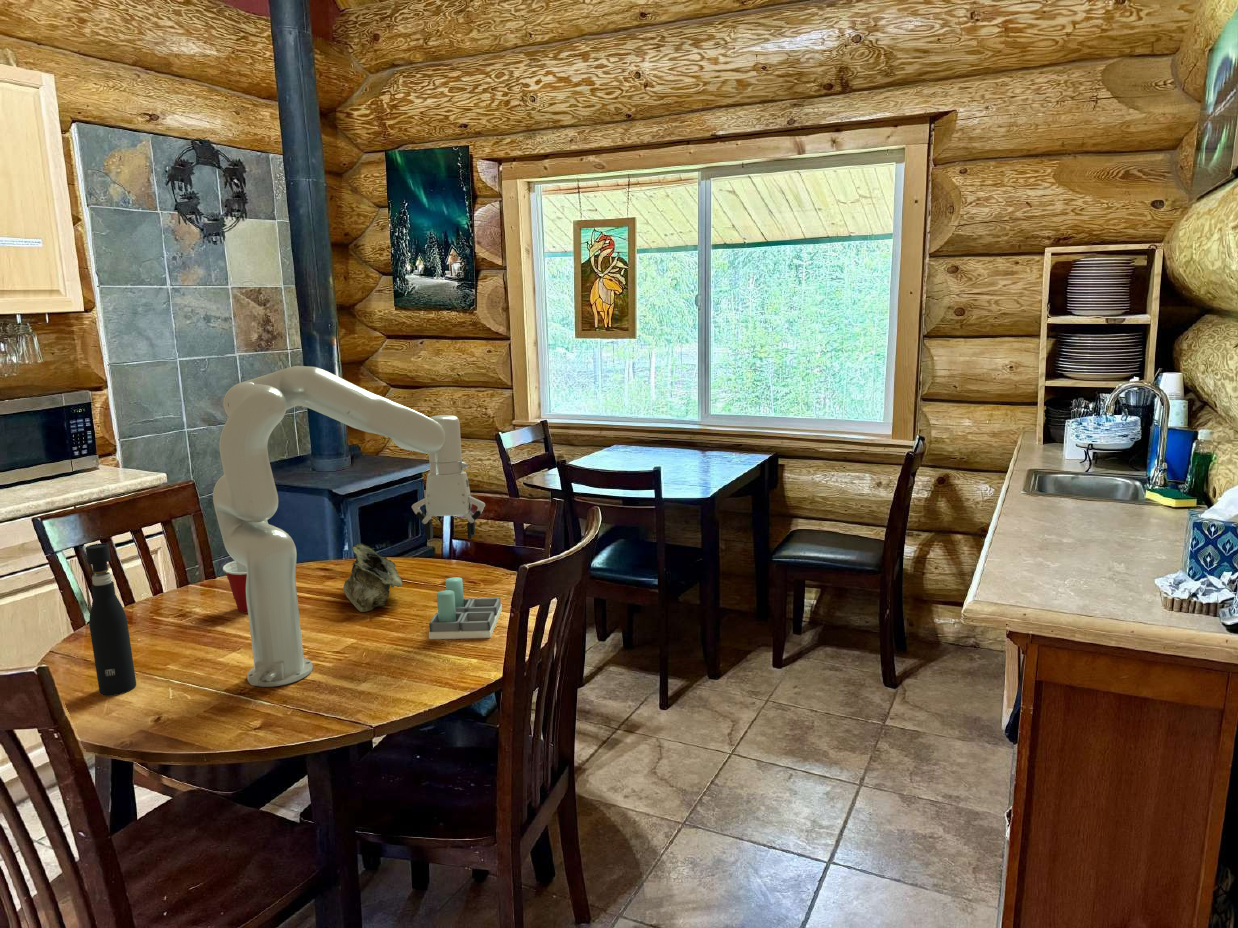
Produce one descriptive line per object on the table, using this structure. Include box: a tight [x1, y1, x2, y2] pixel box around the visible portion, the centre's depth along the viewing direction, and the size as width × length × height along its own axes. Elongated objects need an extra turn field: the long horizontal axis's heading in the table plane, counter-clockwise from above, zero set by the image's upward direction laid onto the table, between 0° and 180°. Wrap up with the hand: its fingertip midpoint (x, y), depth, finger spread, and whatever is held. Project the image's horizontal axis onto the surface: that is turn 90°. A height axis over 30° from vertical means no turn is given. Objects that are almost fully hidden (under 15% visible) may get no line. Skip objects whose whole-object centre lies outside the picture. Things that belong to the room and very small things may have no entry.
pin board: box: [428, 589, 503, 640], centre depth 196 cm, size 18×14×10 cm
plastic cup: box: [222, 560, 248, 614], centre depth 211 cm, size 11×11×12 cm
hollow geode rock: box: [342, 542, 403, 613], centre depth 218 cm, size 28×13×15 cm
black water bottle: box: [85, 542, 137, 697], centre depth 165 cm, size 6×6×30 cm
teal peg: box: [444, 576, 465, 608], centre depth 201 cm, size 4×4×8 cm
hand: (450, 538), depth 198 cm, fingers open, 9 cm apart
